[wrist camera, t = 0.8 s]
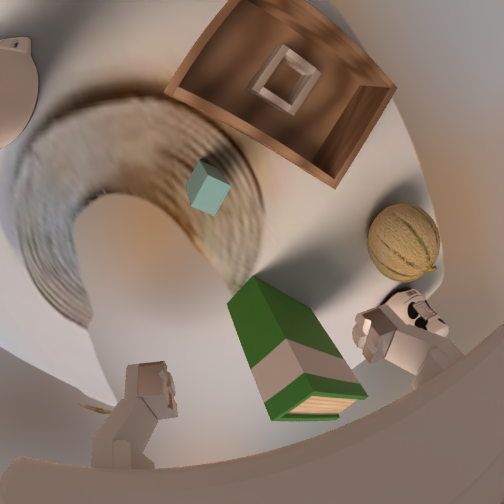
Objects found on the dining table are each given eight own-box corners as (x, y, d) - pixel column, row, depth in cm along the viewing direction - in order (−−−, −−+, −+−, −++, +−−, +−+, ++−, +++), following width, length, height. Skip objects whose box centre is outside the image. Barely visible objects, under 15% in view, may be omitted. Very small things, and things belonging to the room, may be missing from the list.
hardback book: (310, 308, 58) (368, 396, 38) (286, 330, 59) (335, 420, 40) (252, 275, 48) (313, 391, 29) (226, 303, 50) (271, 420, 30)
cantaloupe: (370, 183, 45) (431, 219, 33) (413, 200, 51) (464, 233, 39) (341, 253, 52) (388, 300, 40) (386, 258, 58) (429, 297, 46)
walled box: (164, 93, 29) (164, 91, 22) (238, -8, 23) (257, -30, 16) (307, 172, 41) (335, 189, 34) (362, 84, 35) (397, 87, 28)
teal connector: (185, 185, 36) (191, 206, 30) (199, 159, 35) (207, 174, 28) (204, 193, 38) (214, 216, 31) (218, 168, 36) (231, 186, 30)
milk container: (374, 336, 76) (406, 378, 62) (362, 312, 66) (401, 362, 51) (414, 301, 74) (449, 338, 60) (409, 271, 64) (454, 313, 50)
